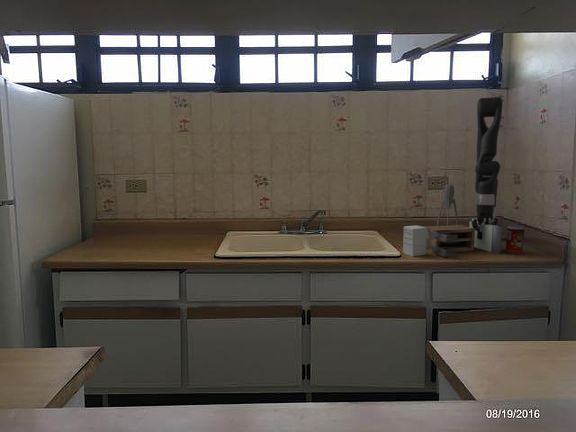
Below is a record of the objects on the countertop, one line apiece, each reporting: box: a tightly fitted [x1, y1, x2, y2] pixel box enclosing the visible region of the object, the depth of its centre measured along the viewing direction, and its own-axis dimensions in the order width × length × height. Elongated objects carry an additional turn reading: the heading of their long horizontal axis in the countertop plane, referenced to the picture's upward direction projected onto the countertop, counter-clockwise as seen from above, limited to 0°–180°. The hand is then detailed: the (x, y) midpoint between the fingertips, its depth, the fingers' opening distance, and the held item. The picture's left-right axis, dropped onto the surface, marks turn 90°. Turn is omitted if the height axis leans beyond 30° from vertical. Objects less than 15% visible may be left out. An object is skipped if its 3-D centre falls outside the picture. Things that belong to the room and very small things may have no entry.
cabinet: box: [424, 224, 475, 258], centre depth 206 cm, size 21×22×10 cm
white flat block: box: [468, 220, 503, 254], centre depth 212 cm, size 4×20×12 cm, turn 14°
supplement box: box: [402, 225, 427, 257], centre depth 201 cm, size 7×7×13 cm
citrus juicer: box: [436, 183, 459, 226], centre depth 225 cm, size 11×10×30 cm
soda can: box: [505, 224, 525, 255], centre depth 204 cm, size 7×7×12 cm
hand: (483, 239), depth 213 cm, fingers open, 3 cm apart
